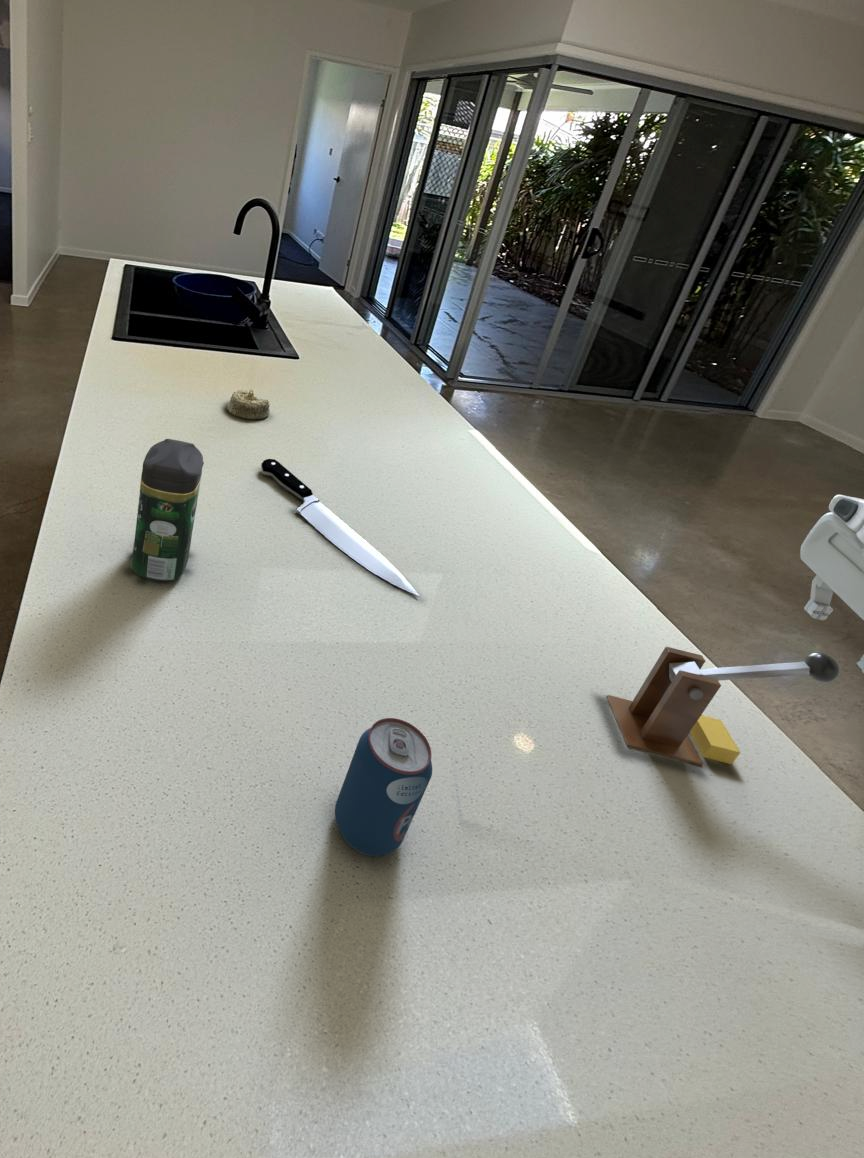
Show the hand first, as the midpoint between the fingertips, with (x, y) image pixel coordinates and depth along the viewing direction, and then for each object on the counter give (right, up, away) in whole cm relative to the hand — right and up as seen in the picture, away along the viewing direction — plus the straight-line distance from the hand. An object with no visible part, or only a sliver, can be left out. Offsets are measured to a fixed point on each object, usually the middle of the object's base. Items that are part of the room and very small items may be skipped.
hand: (838, 642), depth 73 cm
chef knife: (-53, +8, +40) cm, 67 cm away
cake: (-68, +30, +77) cm, 107 cm away
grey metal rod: (-7, -6, +4) cm, 10 cm away
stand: (-16, -14, +9) cm, 23 cm away
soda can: (-54, -16, -9) cm, 57 cm away
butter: (-9, -16, +9) cm, 20 cm away
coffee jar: (-80, +5, +21) cm, 82 cm away
